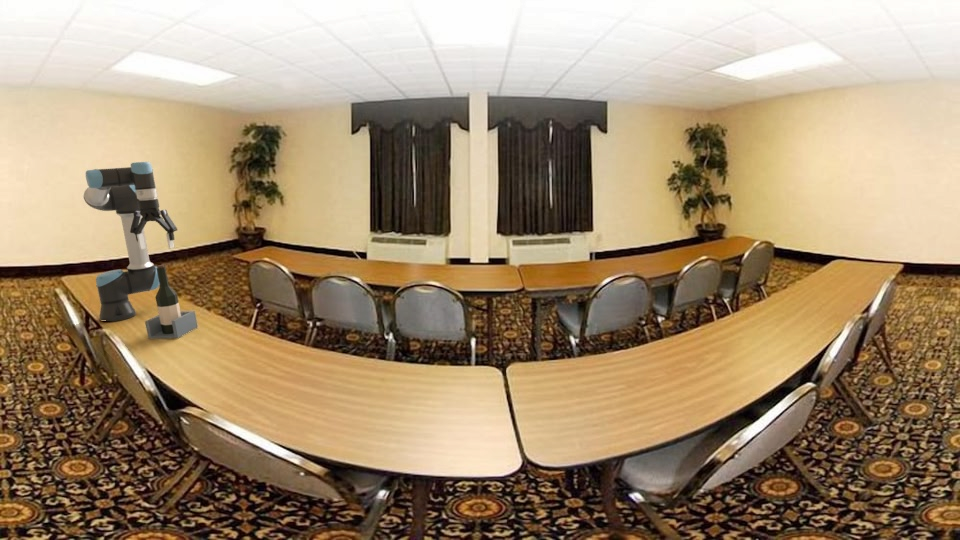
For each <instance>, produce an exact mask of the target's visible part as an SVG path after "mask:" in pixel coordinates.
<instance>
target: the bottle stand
mask: <svg viewBox="0 0 960 540" xmlns="http://www.w3.org/2000/svg"><path fill="white" fill-rule="evenodd" d="M180 312H181V317H179V318H177V319H175V320H173V321H172V326H173V331H174V333H173V334H164V333H163V332H162V327H161V322H160V317H159V314H158V315H156V316H154V317H152V318H150V319H147V320H145V321H144V324H145V328H146V333H147V338H148V339H149V340H157V339H158V340H161V339H163V340H165V339H166V340H168V339H171V338H178V339H180V338H182V337H183V336H182V335H184V334H185V335H187V334H189V333H190V332H189V331H191V330H193V329H195V328H196V329H198V328H197V327H199V326H198V321H197V316H196V311H195V310H180ZM196 329H195V330H196ZM193 331H194V330H193ZM188 332H189V333H188ZM191 332H192V331H191ZM186 333H187V334H186ZM185 335H184V336H185ZM181 336H182V337H181ZM179 337H180V338H179ZM171 340H172V339H171Z"/></svg>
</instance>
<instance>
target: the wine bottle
mask: <svg viewBox="0 0 960 540" xmlns="http://www.w3.org/2000/svg"><path fill="white" fill-rule="evenodd" d="M156 267H157V268H156V269H157V274H158V279H159V287H158V288H159V289H158V290H157V292H156V295H155V302H156V306H157V311H158V315H159V317H160V322H161V327H162V332H163V333H164V334H173V333H174V331H173V326H172V321H173V320H175V319H177V318H179V317H181V312H180V311H181V308H180V303H179V298H178V293H177V292H176V291H175V290H174V289H173V288H172V287H171V286H170V285H169V284H170V283H169V280H168V274H167V269H166V266H165V265H164V264H159V265H157V266H156Z"/></svg>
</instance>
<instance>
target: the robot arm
mask: <svg viewBox="0 0 960 540" xmlns="http://www.w3.org/2000/svg"><path fill="white" fill-rule="evenodd" d="M85 179H86V183H87V186H88V187H87V188H85V190H84V192H83V199H84V202H85V203H86V205H88V206H89V207H90V208H92V209H96V210H98V211H101V212H103V211H104V212H112V211H114V212H115V214H116V215H118V216H119V217H120V220H121V224H122V229H123V234H124V240H125V245H126V251H127V255H128V260H129V264H128V266H126V271H123V270H122V269H120V268H119V269H113V270H109V271H106V272H103V273H100V274H98V275H97V276H96V277H95V283H96V287H97V292H98V293H97V294H98V297H99V301H100V310H99V311H100V312H99V313H100V314H99V320H100V319H101V320H106V321H114V322H118V321H117V320H120V321H124V320H128V319H130V317H131V318H133V317H135V316H136V315H137V314H136V309H135V308H134V307H133V305H132V302H131V301H130V300H129V295H134V294H139V293H144V292H150V291H153V290H154V291H155V290H157V289H158V288H160V284H159V279H158V274H157V269H156V268H157V266H155V264H154V263H153V262H151V260H150V256H149V250H148V244H147V241H146V240H147V239H146V235H145V229H144V228H145V226H146V225H147V222H155V223H157V224H159V226H160V227H161V228H163V230H164V231H165V232H166V234H165V236H166V241H167V247H168V249H174V248H175V244H174V243H175V241H174V240H175V234H174V233H175V232H177V231H178V227H177V226H176V225H175V223H174V221H173V220H172V218H171V217H170V215H169V214H168V211H167V209H162V210H160V203H159V199H158V197H159V195H158V191H157V188H156V183H155V177H154V169H153V167H152V163H151V162H149V161H141V162H135V161H134V162H131V163H130V166H129V167H114V168H112V167H111V168H99V169H98V168H95V169H90V170H88V169H87V170H86V171H85Z"/></svg>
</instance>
